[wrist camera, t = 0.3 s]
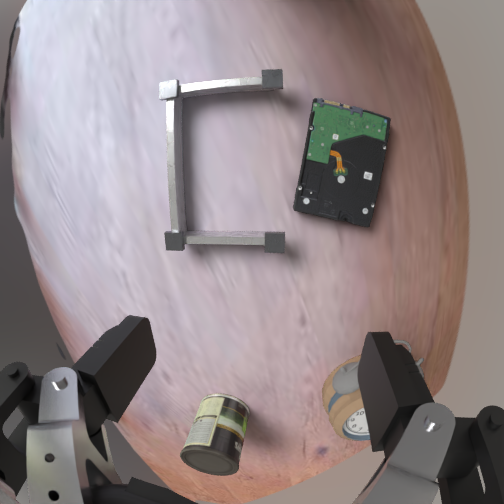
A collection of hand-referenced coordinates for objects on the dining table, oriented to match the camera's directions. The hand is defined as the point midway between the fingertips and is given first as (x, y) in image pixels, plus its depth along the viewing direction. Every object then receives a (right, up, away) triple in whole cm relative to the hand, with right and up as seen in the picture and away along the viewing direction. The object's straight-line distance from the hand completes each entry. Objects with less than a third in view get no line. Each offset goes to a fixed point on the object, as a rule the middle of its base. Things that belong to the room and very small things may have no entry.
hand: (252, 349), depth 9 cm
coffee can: (-6, -28, +40) cm, 49 cm away
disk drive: (+12, +15, +24) cm, 31 cm away
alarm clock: (+21, -18, +33) cm, 43 cm away
